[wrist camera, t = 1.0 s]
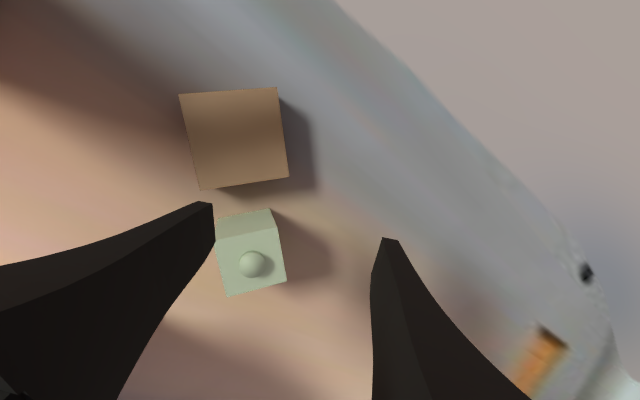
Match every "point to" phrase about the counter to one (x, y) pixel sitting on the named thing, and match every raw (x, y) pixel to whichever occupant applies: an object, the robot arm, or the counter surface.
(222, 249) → the sage brick
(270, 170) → the walnut block
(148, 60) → the counter surface
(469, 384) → the robot arm
